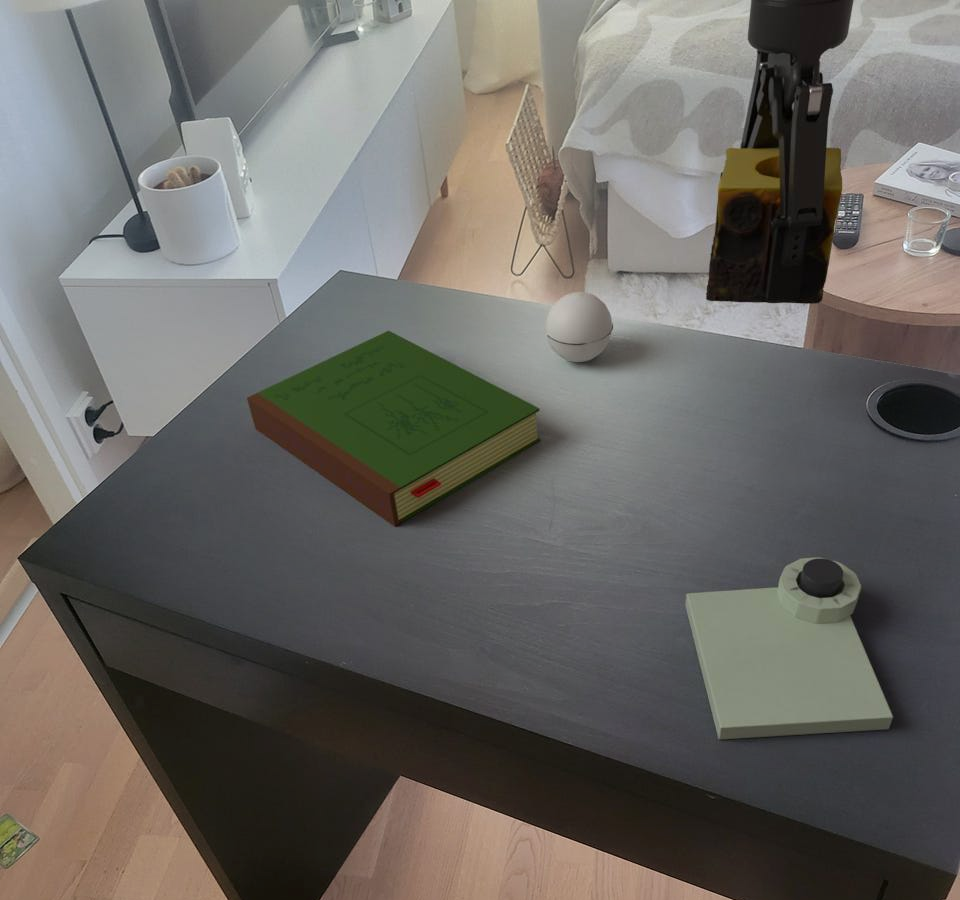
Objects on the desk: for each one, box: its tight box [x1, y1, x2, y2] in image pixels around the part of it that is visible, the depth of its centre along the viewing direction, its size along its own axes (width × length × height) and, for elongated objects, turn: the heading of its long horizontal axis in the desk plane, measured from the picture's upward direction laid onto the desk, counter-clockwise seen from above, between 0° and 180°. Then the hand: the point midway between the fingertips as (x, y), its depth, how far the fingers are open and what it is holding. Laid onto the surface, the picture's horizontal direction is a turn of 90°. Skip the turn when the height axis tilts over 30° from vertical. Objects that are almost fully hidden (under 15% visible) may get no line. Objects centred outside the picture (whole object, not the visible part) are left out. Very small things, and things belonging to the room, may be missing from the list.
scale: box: [684, 557, 894, 740], centre depth 72 cm, size 13×15×3 cm
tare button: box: [799, 557, 843, 598], centre depth 74 cm, size 3×3×2 cm
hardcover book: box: [246, 330, 542, 527], centre depth 97 cm, size 25×19×4 cm
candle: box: [705, 147, 843, 305], centre depth 84 cm, size 10×10×10 cm
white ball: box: [544, 291, 632, 363], centre depth 103 cm, size 10×7×7 cm
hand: (766, 267), depth 87 cm, fingers closed on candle, 11 cm apart
